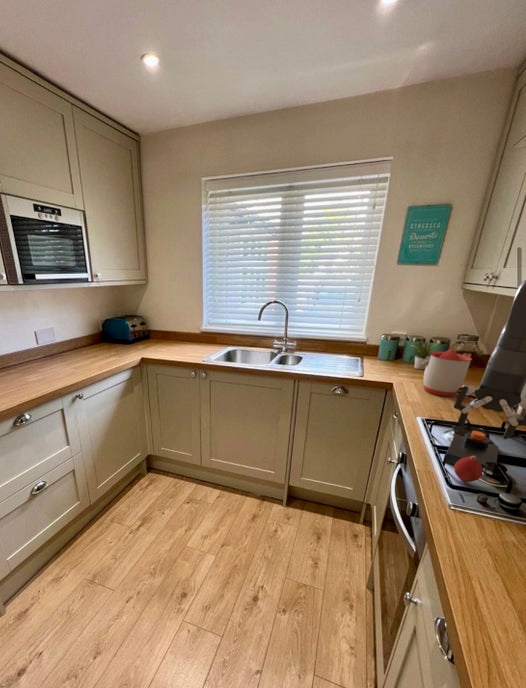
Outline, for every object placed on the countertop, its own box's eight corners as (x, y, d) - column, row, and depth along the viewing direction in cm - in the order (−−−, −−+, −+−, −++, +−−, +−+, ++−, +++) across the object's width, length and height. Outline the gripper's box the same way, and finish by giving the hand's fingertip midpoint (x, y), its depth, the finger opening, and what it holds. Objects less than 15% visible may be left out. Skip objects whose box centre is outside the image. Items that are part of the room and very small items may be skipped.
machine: (451, 441, 106) (456, 428, 104) (495, 454, 100) (501, 440, 98) (443, 462, 94) (448, 447, 93) (491, 478, 88) (498, 462, 86)
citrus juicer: (416, 383, 160) (428, 342, 153) (459, 391, 151) (474, 348, 143) (412, 392, 148) (425, 348, 141) (459, 401, 139) (475, 355, 132)
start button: (470, 434, 101) (472, 429, 100) (483, 438, 99) (485, 433, 98) (469, 438, 99) (471, 433, 98) (483, 442, 97) (485, 437, 96)
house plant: (425, 364, 192) (433, 336, 185) (441, 371, 179) (450, 342, 173) (401, 364, 191) (409, 336, 185) (416, 371, 178) (424, 341, 172)
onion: (445, 475, 89) (454, 449, 85) (464, 474, 89) (474, 449, 86) (462, 489, 83) (472, 462, 80) (482, 488, 84) (494, 461, 81)
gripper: (549, 372, 73) (520, 436, 79) (471, 358, 81) (450, 418, 87) (552, 379, 67) (520, 448, 74) (468, 364, 76) (446, 427, 82)
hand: (482, 431), depth 80 cm, fingers open, 8 cm apart
